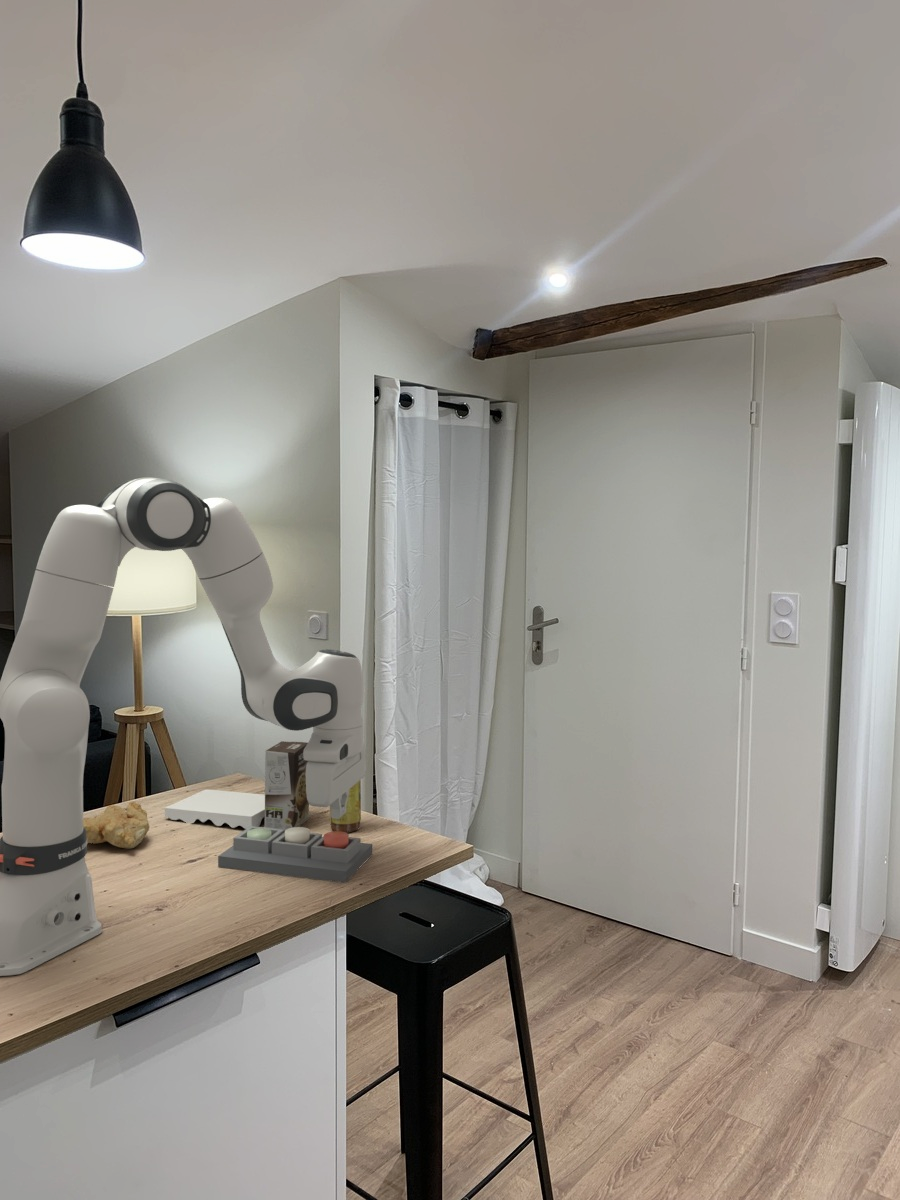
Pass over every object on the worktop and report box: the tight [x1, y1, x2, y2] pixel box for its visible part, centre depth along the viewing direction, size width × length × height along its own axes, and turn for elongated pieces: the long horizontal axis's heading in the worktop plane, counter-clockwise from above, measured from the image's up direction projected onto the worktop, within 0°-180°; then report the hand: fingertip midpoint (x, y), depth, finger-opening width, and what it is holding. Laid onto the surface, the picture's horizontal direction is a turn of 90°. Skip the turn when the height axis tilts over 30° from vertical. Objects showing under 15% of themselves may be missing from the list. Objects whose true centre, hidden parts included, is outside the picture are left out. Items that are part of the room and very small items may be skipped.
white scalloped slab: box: [164, 788, 265, 830], centre depth 191 cm, size 15×3×20 cm
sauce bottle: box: [329, 779, 362, 834], centre depth 184 cm, size 6×6×20 cm
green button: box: [247, 828, 271, 840], centre depth 168 cm, size 4×4×2 cm
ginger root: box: [83, 801, 150, 850], centre depth 174 cm, size 16×16×8 cm
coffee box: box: [264, 741, 310, 832], centre depth 186 cm, size 9×6×16 cm
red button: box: [323, 830, 350, 849], centre depth 165 cm, size 4×4×2 cm
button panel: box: [217, 826, 373, 884], centre depth 167 cm, size 14×24×4 cm, turn 76°
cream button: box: [284, 826, 311, 844], centre depth 166 cm, size 4×4×2 cm
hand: (338, 816), depth 165 cm, fingers closed
